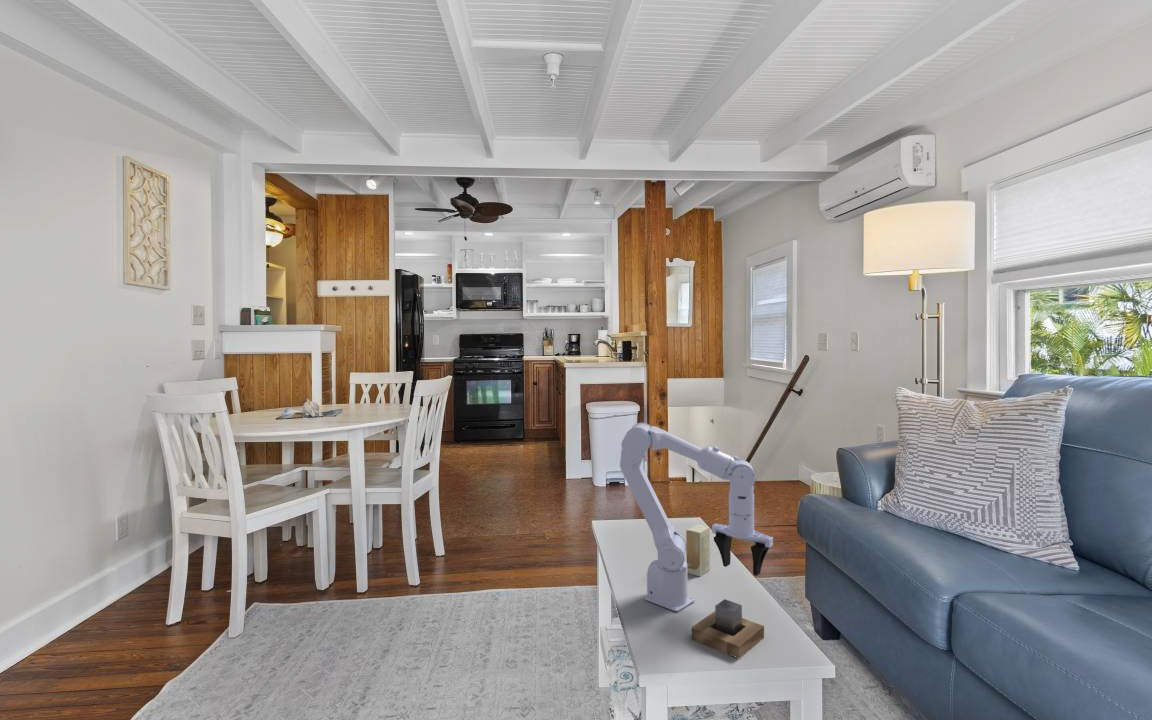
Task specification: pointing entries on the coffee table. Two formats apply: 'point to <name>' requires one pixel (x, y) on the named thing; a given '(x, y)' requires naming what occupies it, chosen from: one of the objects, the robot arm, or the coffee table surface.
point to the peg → (728, 617)
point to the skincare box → (698, 549)
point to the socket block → (727, 636)
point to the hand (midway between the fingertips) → (741, 569)
